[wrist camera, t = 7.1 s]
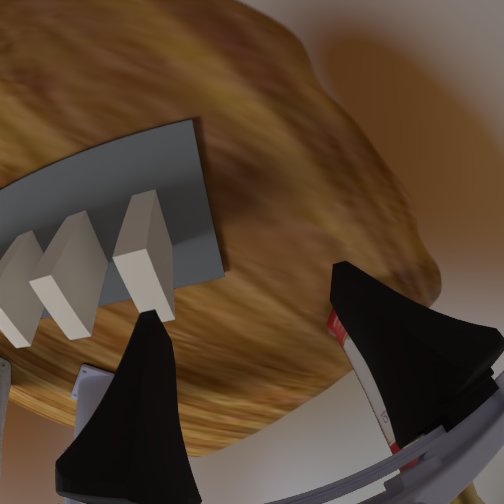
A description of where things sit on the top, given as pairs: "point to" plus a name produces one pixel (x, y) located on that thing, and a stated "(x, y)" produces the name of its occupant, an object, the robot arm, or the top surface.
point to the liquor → (468, 498)
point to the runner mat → (121, 201)
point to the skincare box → (4, 395)
